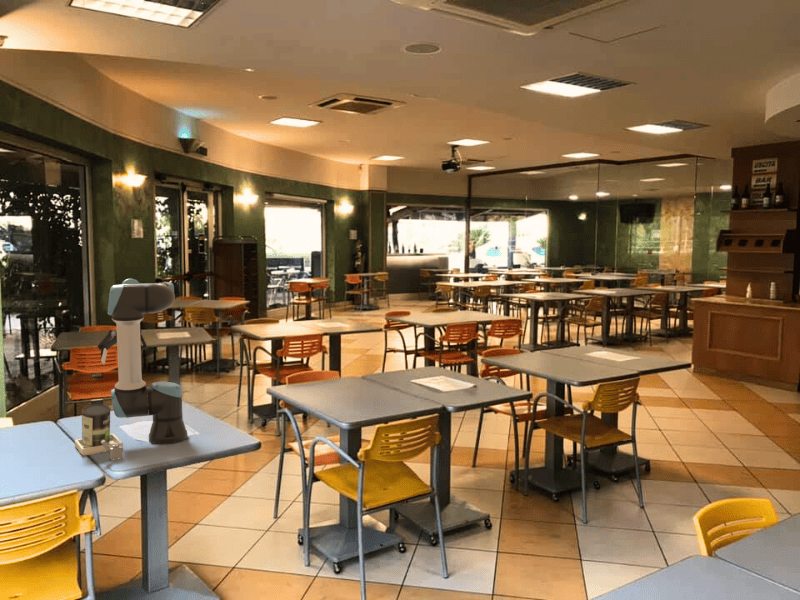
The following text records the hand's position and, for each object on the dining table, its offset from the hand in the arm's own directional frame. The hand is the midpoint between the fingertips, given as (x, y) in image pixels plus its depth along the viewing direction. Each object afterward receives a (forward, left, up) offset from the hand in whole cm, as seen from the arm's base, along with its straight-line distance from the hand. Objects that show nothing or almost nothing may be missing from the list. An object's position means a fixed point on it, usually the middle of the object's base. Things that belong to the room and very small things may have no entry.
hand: (119, 362), depth 286 cm
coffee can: (-7, +21, -28) cm, 36 cm away
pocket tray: (-10, +22, -30) cm, 38 cm away
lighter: (-26, +31, -30) cm, 50 cm away
